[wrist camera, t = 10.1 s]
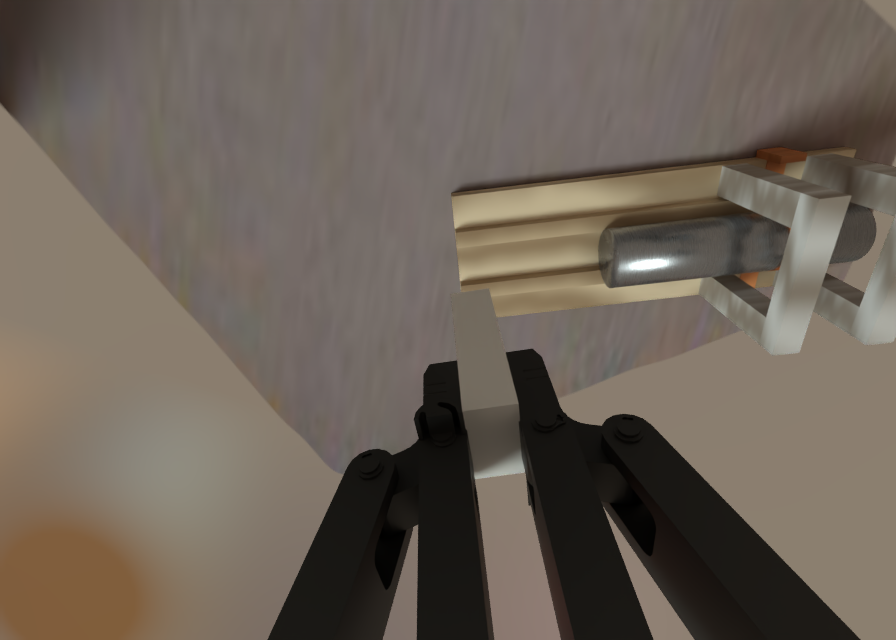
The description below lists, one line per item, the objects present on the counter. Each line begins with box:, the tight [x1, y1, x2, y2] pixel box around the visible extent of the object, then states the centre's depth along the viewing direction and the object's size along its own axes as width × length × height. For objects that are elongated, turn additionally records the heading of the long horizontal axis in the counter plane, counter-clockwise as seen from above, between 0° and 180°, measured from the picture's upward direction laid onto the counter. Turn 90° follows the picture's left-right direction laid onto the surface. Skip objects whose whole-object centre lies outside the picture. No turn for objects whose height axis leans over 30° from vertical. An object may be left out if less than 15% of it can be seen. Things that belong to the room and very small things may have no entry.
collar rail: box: [451, 147, 896, 355], centre depth 36 cm, size 13×34×12 cm, turn 96°
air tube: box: [598, 202, 876, 288], centre depth 38 cm, size 20×5×5 cm, turn 96°
